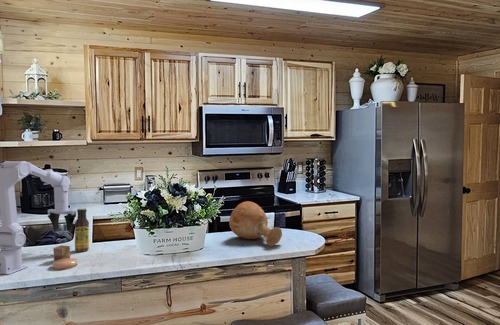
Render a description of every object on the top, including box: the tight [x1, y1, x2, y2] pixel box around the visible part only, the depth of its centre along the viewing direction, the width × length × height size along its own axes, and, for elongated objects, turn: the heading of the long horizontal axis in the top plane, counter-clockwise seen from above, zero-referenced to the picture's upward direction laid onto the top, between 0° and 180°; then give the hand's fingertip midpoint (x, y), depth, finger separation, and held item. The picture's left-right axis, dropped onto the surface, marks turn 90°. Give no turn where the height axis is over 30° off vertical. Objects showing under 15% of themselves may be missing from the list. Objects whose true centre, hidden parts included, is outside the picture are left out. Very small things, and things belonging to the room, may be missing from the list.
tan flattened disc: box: [52, 257, 78, 271], centre depth 164 cm, size 9×9×2 cm
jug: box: [228, 200, 283, 247], centre depth 199 cm, size 20×19×30 cm
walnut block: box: [52, 244, 71, 262], centre depth 171 cm, size 4×4×6 cm
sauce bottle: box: [74, 207, 90, 253], centre depth 186 cm, size 6×6×20 cm
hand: (62, 229), depth 186 cm, fingers open, 7 cm apart
